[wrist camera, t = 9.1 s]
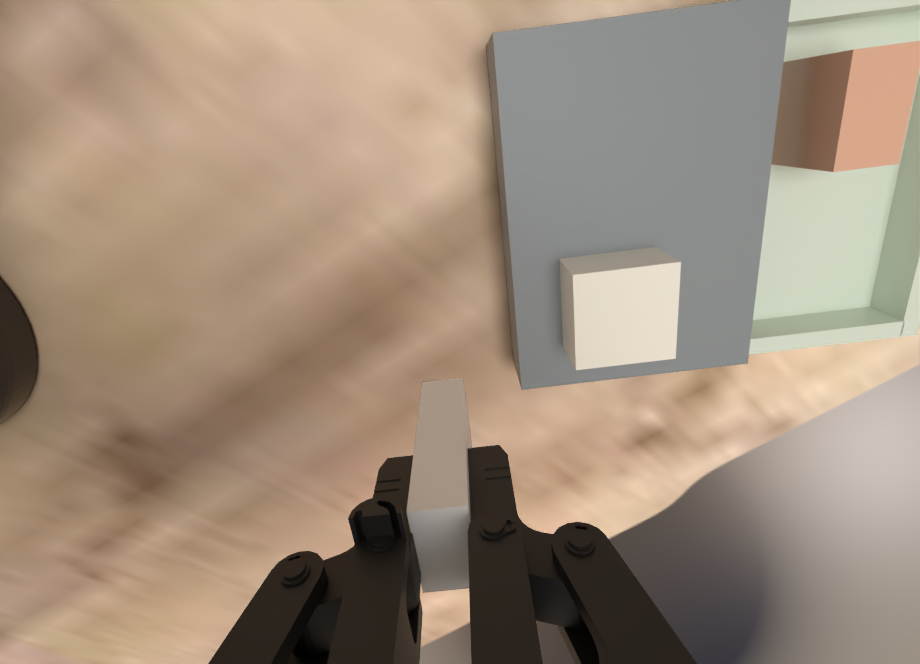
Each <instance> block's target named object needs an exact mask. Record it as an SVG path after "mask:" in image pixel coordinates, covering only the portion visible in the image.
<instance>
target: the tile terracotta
mask: <svg viewBox="0 0 920 664" xmlns="http://www.w3.org/2000/svg"><path fill="white" fill-rule="evenodd" d="M919 69H920V41H914V42H906V43H899V44H891V45H884V46H876V47H868V48H861V49H853V50H848V51H842V52H837V53H831V54H826V55H820V56H815V57H809V58H804V59H798V60H793V61H787V62H783V71H782V79H781V88H780V96H779V104H778V113H777V121H776V130H775V138H774V146H773V155H772V163H771V164H773V165H781V166H788V167H796V168H804V169H812V170H820V171H828V172H839V171H847V170H855V169H862V168H870V167H878V166H886V165H894V164H899V162H900V157H901V153H902V148H903V143H904V139H905V134H906V129H907V125H908V120H909V115H910V111H911V106H912V101H913V97H914V92H915V87H916V83H917V78H918V73H919Z"/></svg>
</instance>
